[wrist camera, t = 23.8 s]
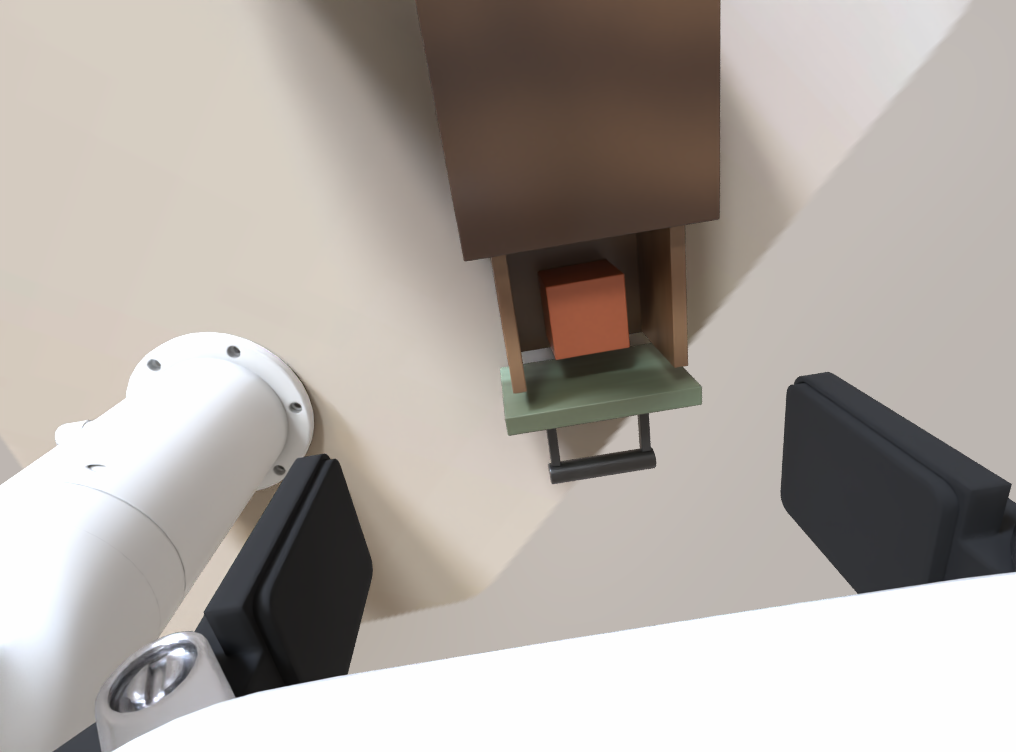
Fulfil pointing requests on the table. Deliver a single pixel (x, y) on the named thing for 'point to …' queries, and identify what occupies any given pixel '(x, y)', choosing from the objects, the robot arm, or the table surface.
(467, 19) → the cabinet
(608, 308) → the block
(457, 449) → the table surface
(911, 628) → the robot arm
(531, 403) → the drawer
